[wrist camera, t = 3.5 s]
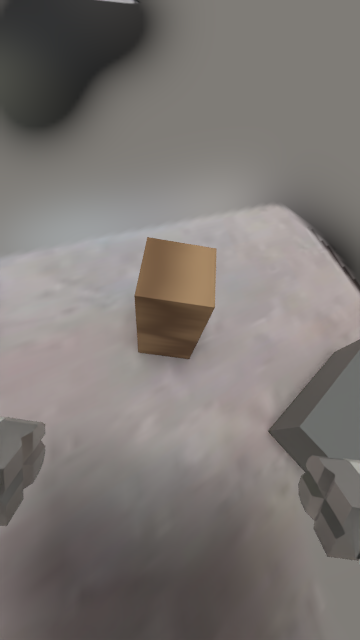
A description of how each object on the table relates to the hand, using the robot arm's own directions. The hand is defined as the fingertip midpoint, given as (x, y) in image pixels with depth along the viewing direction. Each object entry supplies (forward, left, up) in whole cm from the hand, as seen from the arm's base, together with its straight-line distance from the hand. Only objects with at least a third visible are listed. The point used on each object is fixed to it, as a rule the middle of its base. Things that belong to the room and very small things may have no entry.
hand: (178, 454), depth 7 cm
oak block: (+8, -7, -14) cm, 18 cm away
